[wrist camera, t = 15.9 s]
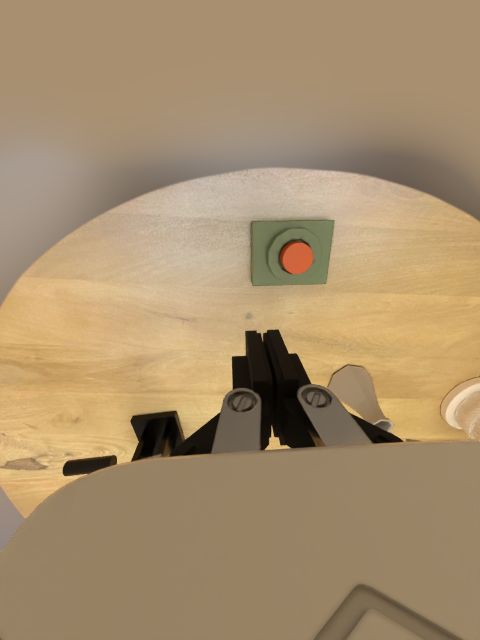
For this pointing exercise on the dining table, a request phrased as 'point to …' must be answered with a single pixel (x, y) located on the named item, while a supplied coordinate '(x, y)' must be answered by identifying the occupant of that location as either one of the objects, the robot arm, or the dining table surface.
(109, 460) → the lever
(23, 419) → the dining table surface
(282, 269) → the button block
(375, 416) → the flask
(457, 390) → the decorative container
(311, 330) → the dining table surface
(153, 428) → the switch bracket
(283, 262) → the stop button
